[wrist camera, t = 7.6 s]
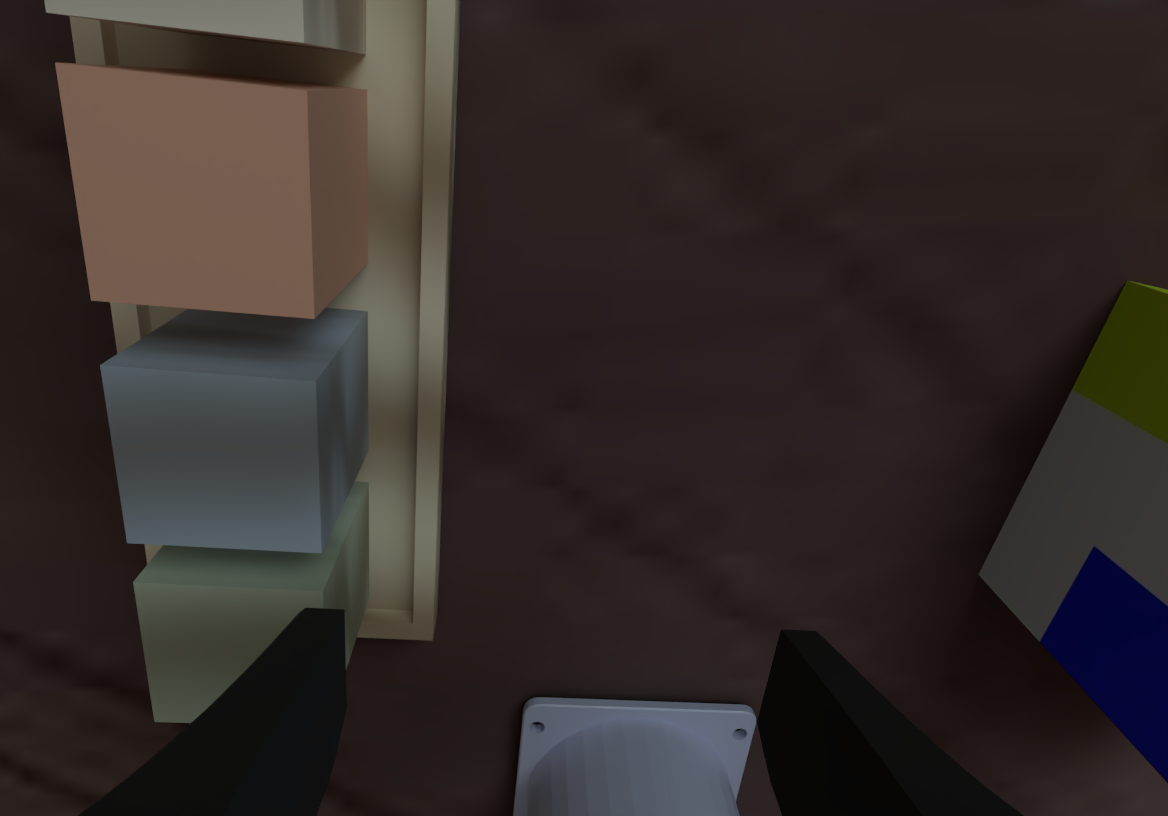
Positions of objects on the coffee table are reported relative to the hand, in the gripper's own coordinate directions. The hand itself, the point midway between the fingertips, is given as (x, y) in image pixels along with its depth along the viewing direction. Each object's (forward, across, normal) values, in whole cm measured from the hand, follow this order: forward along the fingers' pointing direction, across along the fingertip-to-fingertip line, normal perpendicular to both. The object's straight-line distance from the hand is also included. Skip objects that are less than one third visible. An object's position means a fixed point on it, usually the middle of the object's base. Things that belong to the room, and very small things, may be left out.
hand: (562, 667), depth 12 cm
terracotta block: (+9, +7, -6) cm, 13 cm away
